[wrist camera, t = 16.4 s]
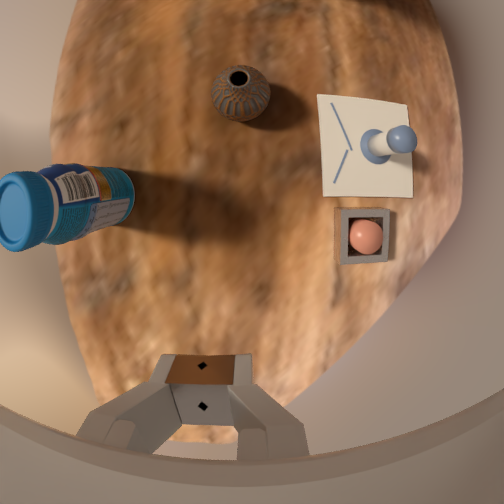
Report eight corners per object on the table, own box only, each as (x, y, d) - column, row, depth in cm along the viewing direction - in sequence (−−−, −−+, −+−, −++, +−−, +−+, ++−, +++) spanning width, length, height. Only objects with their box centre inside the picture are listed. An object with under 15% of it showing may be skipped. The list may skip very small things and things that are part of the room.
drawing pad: (316, 95, 32) (317, 94, 31) (405, 105, 32) (407, 105, 31) (322, 196, 35) (323, 196, 35) (411, 197, 35) (413, 197, 35)
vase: (264, 76, 31) (267, 47, 23) (272, 122, 33) (278, 103, 24) (212, 83, 32) (201, 56, 23) (218, 130, 33) (208, 113, 25)
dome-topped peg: (365, 133, 33) (393, 123, 25) (385, 135, 33) (415, 127, 25) (367, 156, 33) (395, 151, 26) (387, 158, 33) (418, 153, 26)
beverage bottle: (130, 232, 36) (37, 276, 17) (83, 218, 36) (-16, 248, 16) (143, 172, 34) (47, 167, 15) (94, 162, 34) (-9, 157, 14)
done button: (345, 218, 35) (353, 221, 32) (373, 217, 35) (383, 221, 32) (344, 249, 36) (353, 255, 33) (372, 247, 36) (382, 253, 33)
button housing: (333, 207, 36) (340, 209, 33) (380, 207, 36) (389, 209, 33) (333, 258, 37) (340, 264, 34) (378, 256, 37) (387, 261, 34)
